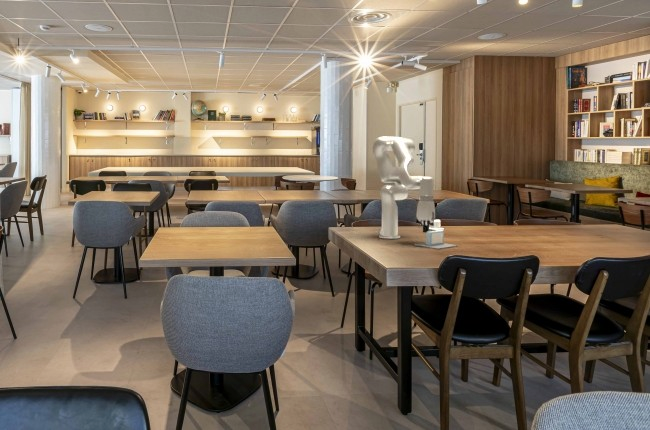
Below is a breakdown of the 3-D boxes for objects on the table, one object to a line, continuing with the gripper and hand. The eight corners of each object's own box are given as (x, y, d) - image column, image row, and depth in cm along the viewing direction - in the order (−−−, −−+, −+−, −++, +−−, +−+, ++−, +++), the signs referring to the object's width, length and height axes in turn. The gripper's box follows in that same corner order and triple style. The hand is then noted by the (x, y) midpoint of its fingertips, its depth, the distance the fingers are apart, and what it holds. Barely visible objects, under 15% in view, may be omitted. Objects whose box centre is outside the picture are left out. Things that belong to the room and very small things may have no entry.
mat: (412, 245, 347) (412, 244, 347) (432, 242, 357) (432, 241, 357) (438, 249, 333) (438, 248, 333) (457, 246, 343) (457, 245, 343)
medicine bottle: (426, 240, 366) (426, 219, 365) (434, 239, 370) (435, 218, 369) (435, 241, 361) (435, 220, 359) (443, 240, 365) (444, 219, 363)
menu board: (426, 245, 342) (426, 231, 342) (439, 243, 349) (439, 230, 348) (430, 246, 340) (430, 232, 339) (443, 244, 347) (444, 230, 346)
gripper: (411, 198, 351) (411, 231, 353) (432, 200, 339) (431, 234, 341) (420, 198, 355) (420, 230, 357) (441, 199, 344) (440, 233, 346)
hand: (425, 232), depth 349 cm, fingers closed
